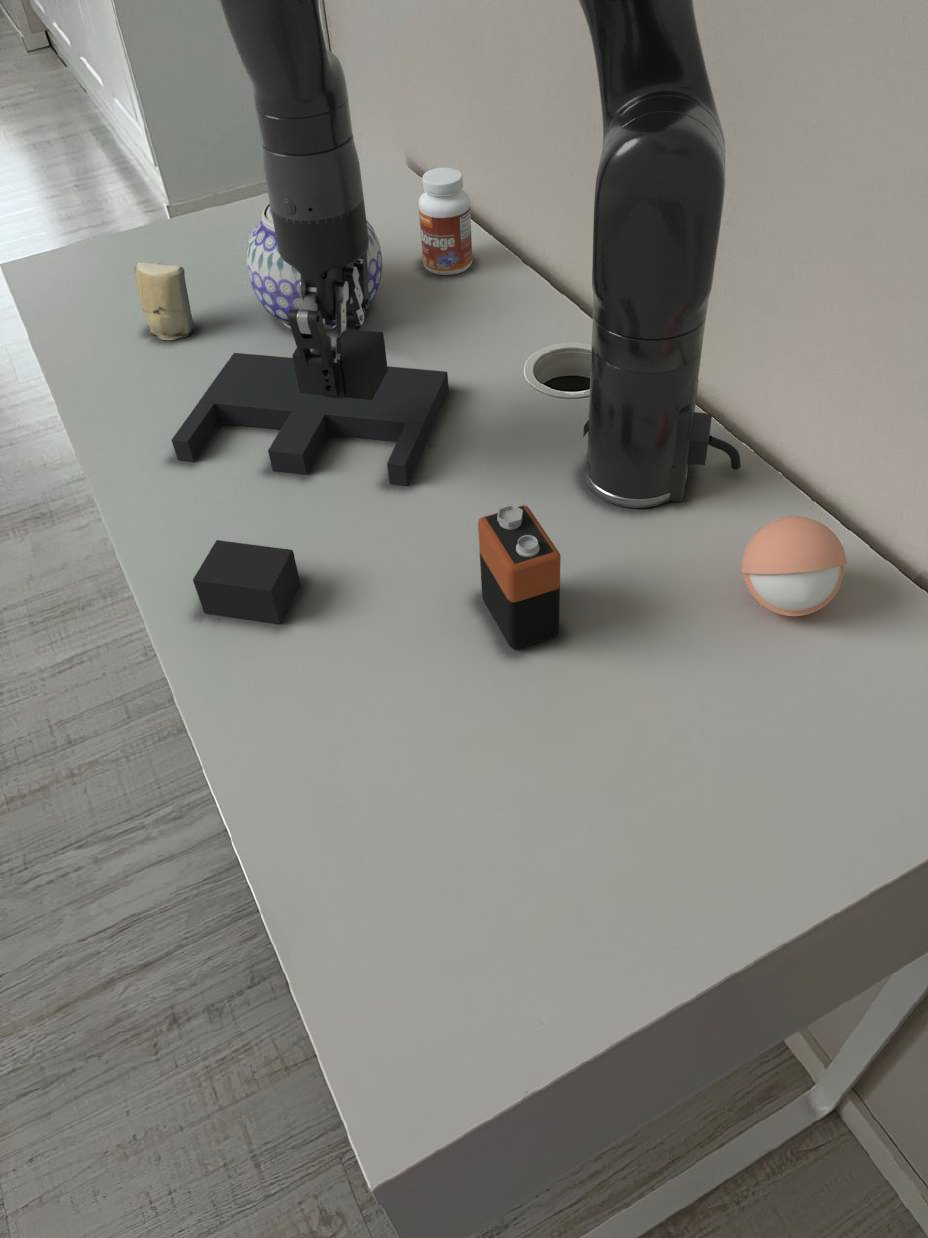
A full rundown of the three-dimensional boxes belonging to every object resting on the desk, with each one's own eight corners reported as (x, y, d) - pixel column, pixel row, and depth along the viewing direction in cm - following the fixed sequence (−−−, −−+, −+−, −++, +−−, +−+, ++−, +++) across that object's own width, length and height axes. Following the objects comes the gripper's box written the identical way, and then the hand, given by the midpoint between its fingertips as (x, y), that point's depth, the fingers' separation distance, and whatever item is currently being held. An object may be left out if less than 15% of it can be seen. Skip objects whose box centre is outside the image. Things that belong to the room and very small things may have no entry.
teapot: (419, 346, 115) (407, 215, 104) (287, 380, 111) (259, 249, 100) (353, 251, 131) (336, 130, 120) (236, 278, 128) (208, 156, 117)
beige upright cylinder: (194, 315, 122) (177, 251, 116) (203, 335, 119) (186, 271, 113) (146, 326, 121) (127, 262, 115) (154, 347, 117) (134, 283, 112)
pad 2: (388, 370, 95) (383, 331, 92) (372, 400, 92) (367, 361, 89) (317, 363, 97) (310, 325, 94) (299, 393, 93) (291, 354, 91)
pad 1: (301, 583, 89) (293, 549, 86) (280, 624, 86) (271, 590, 83) (226, 573, 90) (216, 539, 87) (203, 613, 87) (192, 579, 84)
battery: (527, 583, 87) (526, 492, 80) (561, 637, 83) (563, 545, 76) (480, 598, 86) (474, 507, 79) (511, 653, 82) (509, 562, 75)
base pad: (449, 391, 108) (447, 371, 106) (407, 486, 97) (405, 465, 96) (238, 372, 113) (233, 352, 111) (177, 460, 102) (170, 439, 100)
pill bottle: (414, 271, 127) (405, 181, 119) (438, 249, 130) (431, 161, 122) (458, 280, 124) (453, 190, 116) (481, 257, 128) (477, 168, 120)
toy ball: (748, 638, 82) (764, 566, 76) (724, 572, 87) (737, 500, 81) (848, 630, 82) (871, 557, 76) (818, 564, 87) (837, 491, 81)
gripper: (331, 240, 76) (359, 428, 89) (386, 160, 86) (404, 340, 98) (238, 233, 78) (278, 419, 90) (302, 156, 87) (331, 334, 100)
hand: (344, 377), depth 94 cm, fingers closed on pad 2, 5 cm apart
